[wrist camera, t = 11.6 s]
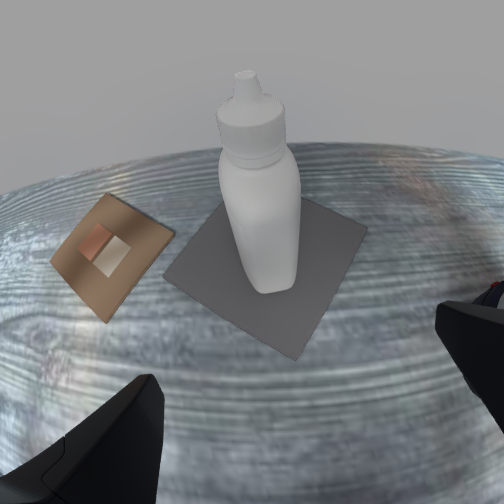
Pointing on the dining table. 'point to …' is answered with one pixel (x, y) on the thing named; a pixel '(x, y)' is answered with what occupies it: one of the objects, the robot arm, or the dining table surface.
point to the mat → (277, 303)
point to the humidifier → (490, 305)
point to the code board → (109, 254)
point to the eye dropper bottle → (260, 184)
